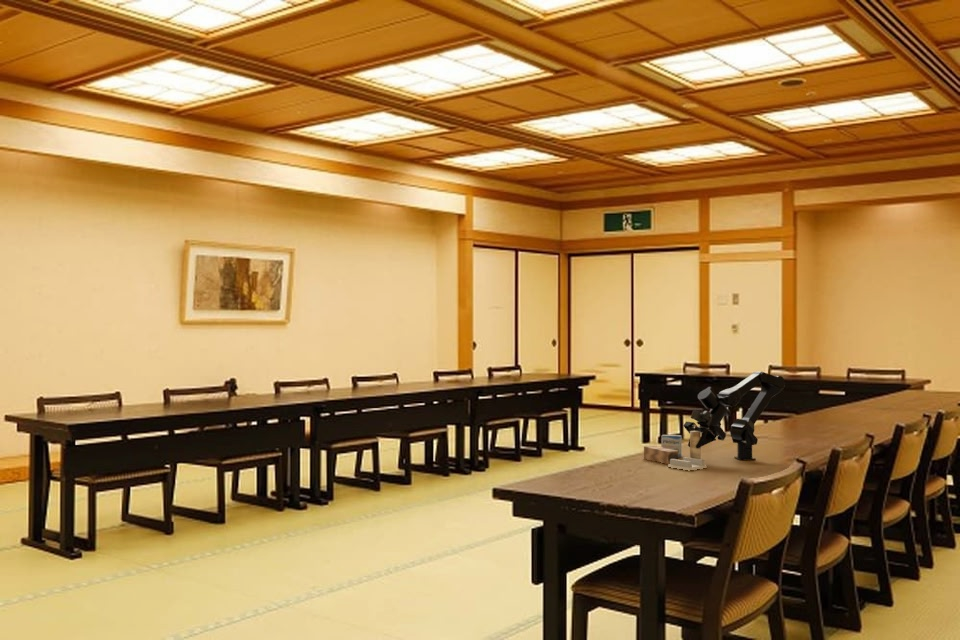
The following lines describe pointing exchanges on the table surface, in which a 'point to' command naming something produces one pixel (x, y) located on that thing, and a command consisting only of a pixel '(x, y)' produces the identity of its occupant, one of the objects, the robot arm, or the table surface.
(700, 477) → the table surface
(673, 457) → the beam
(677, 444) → the medicine box
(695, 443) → the dowel
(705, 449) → the table surface
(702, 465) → the cradle
